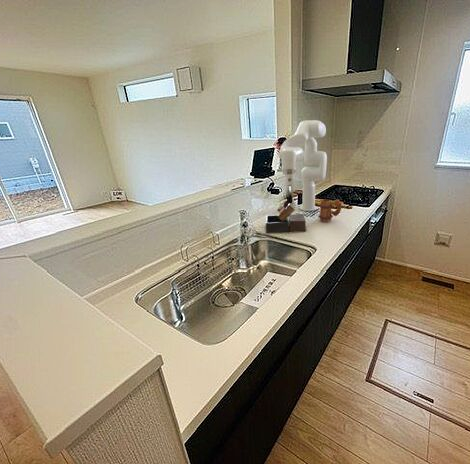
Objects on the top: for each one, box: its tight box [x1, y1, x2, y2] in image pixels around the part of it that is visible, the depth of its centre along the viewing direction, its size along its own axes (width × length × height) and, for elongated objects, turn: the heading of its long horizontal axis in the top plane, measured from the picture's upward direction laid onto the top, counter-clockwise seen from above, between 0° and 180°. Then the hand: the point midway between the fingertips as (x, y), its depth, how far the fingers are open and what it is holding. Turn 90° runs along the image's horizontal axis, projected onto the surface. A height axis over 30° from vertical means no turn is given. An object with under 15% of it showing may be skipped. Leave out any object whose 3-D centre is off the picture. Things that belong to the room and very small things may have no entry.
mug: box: [317, 198, 343, 223], centre depth 165 cm, size 15×8×15 cm, turn 74°
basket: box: [265, 214, 290, 234], centre depth 157 cm, size 14×14×7 cm
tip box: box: [276, 200, 296, 221], centre depth 153 cm, size 13×13×7 cm
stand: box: [288, 213, 307, 233], centre depth 157 cm, size 12×10×7 cm
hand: (289, 201), depth 151 cm, fingers closed on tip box, 6 cm apart
